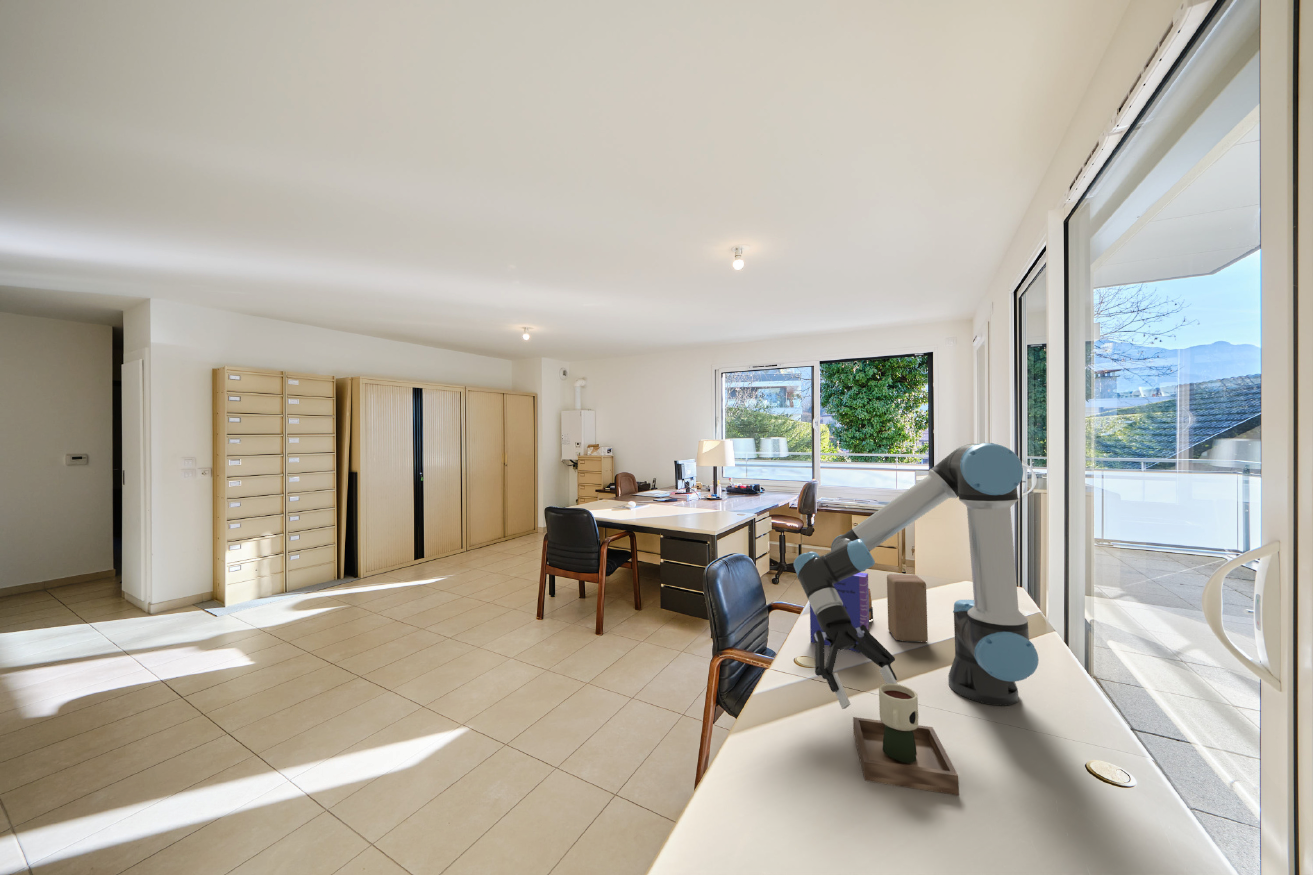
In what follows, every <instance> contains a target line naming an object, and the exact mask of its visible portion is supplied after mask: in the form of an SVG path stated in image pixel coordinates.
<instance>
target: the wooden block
mask: <svg viewBox="0 0 1313 875" xmlns="http://www.w3.org/2000/svg"><path fill="white" fill-rule="evenodd" d="M886 595H887V596H886V597H887V598H886V599H887V627H888V628H887V629H888V631H889V633H890V632H891V633H892V634H891V633H890V634H891V635H892V637H893V636H894V637H893V638H894V639H895V640H896V641H897V640H901V641H900V642H908V641H920V642H919V643H924V642H925V643H927V642H928V641H929V640H928V639H929V638H928V637H929V635H928V634H929V633H928V611H927V610H928V606H927V605H928V602H927V601H928V600H927V584H926V582H925V581H924V580H923V579H922V578H920V577H919V576H918V575H915V574H901V573H900V574H897V573H896V574H895V573H894V574H893V573H889V574H887V575H886ZM902 640H903V641H902ZM921 641H922V642H921ZM926 641H927V642H926Z"/></svg>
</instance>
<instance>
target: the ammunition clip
mask: <svg viewBox="0 0 1313 875" xmlns="http://www.w3.org/2000/svg"><path fill="white" fill-rule="evenodd" d="M868 590H869V620H871V619H873V620H874V609H873V608H874V607H872V606H873V604H872V602H873V601H872V594H871V592H872V591H871V589H870V588H868Z"/></svg>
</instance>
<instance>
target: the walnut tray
mask: <svg viewBox="0 0 1313 875" xmlns="http://www.w3.org/2000/svg"><path fill="white" fill-rule="evenodd" d="M852 722H853V724H852V725H853V727H852V728H853V731H852V732H853V737H854V741H855V746H856V748H857V754H858V758H859V762H860V766H861V771H862V774H863V779H864V781H865V782H866V781H867V782H872V783H878V784H884V785H885V784H886V785H891V786H898V787H904V788H908V789H909V788H910V789H916V790H921V791H922V790H924V791H929V792H934V793H941V794H942V793H943V794H947V795H948V794H949V795H953V796H960V789H959V788H960V785H959V784H960V782H959V780H960V779H959V774H958V772H957V771H956V768H955V766H954V765H953V763H952V761H951V759H950V757H949V755H948V753H947V751H946V749H945V748H944V746H943V744H942V741H941V740H940V739H939V736H938V735H937V733H936V731H935V729H934V727H933V726H926V725H921V724H918V728H917V729H915V730H912V731H913V734H914V739H915V745H916V752H917V755H916V761H914V762H913V763H904V762H901V761H899V760H896V759H894V758H891V757H889V756H888V755H886V754H885V753H884V751H883V738H884V729H885V724H884V723H883V722H882V721H881V720H880V719H871V718H862V717H856V716H855V717H854V716H853V717H852Z"/></svg>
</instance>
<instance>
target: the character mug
mask: <svg viewBox="0 0 1313 875" xmlns="http://www.w3.org/2000/svg"><path fill="white" fill-rule="evenodd" d="M918 700H919V698H918V693H917V692H916V691H915V690H914V689H912V688H911V687H908V686H905V685H902V684H900V683H899V684H898V683H897V684H893V683H890V684H886V683H883V684H881V685H880V686H878V702H879V703H878V704H879V708H878V709H879V718H880V719H879V720H881V721H882V722H883V723H884V724H885V729H884V738H883V751H884V753H885V754H886V755H888V756H889V757H891V758H894V759H896V760H899V761H901V762H904V763H913V762H914V761H916V755H917V752H916V745H915V739H914V734H913V731H912V730H915V729H917V728H918V725H919V703H918V702H919V701H918Z"/></svg>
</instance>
